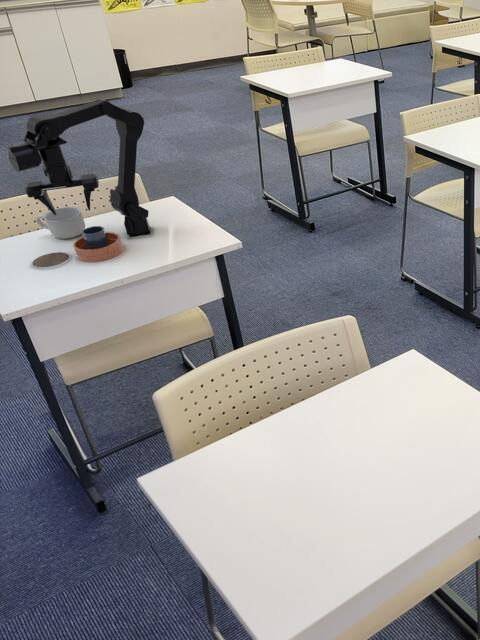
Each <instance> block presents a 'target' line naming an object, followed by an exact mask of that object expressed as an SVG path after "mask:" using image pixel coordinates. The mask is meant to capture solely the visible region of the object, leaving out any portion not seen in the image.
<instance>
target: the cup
mask: <svg viewBox="0 0 480 640" xmlns="http://www.w3.org/2000/svg"><path fill="white" fill-rule="evenodd" d="M106 232H107V231H106V230H105V227H104V226H101V225H99V226H98V225H92V226H89V227H85V229H84V230H83V231H82V234H81V235H82V237H84V240H85V243H86V246H87V248H88V250H93V249H99V248H103V247H106V246H109V245H110V244H109V241H108V238H107V235H106Z"/></svg>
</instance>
